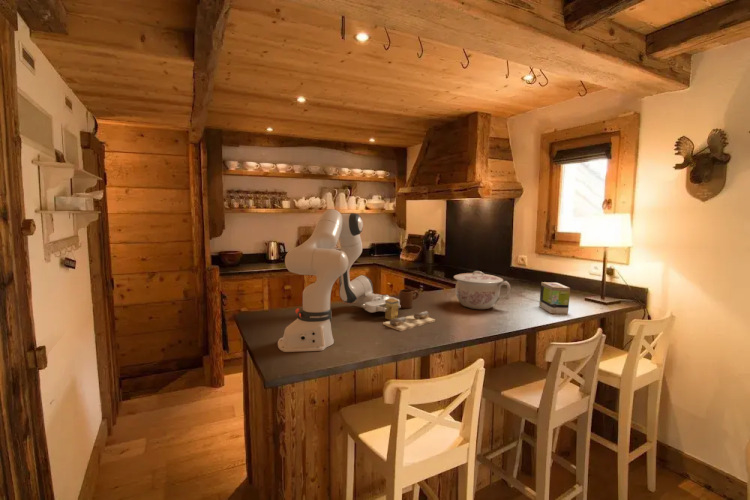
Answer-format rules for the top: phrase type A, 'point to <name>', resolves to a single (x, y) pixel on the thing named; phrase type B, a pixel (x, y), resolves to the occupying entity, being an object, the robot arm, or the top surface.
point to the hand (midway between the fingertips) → (392, 308)
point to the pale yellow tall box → (391, 309)
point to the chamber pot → (479, 289)
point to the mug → (407, 298)
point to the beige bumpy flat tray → (409, 321)
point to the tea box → (554, 297)
